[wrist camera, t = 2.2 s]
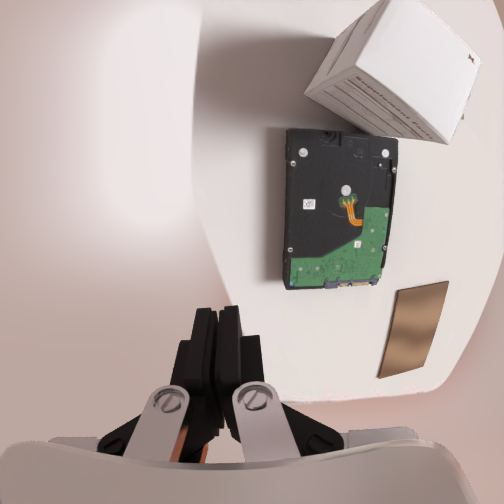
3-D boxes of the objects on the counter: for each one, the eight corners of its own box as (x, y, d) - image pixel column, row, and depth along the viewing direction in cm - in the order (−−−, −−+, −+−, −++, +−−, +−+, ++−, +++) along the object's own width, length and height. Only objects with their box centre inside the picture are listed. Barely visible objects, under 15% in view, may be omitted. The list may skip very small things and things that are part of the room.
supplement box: (334, 36, 20) (399, -20, 8) (397, 80, 22) (486, 62, 10) (299, 94, 22) (351, 62, 11) (366, 138, 24) (452, 148, 12)
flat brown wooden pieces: (401, 55, 21) (402, 54, 20) (457, 69, 21) (458, 69, 20) (378, 377, 36) (378, 378, 36) (422, 365, 36) (423, 366, 36)
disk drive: (282, 129, 24) (281, 279, 30) (287, 128, 22) (285, 293, 27) (385, 136, 25) (373, 274, 30) (399, 137, 22) (383, 286, 28)
